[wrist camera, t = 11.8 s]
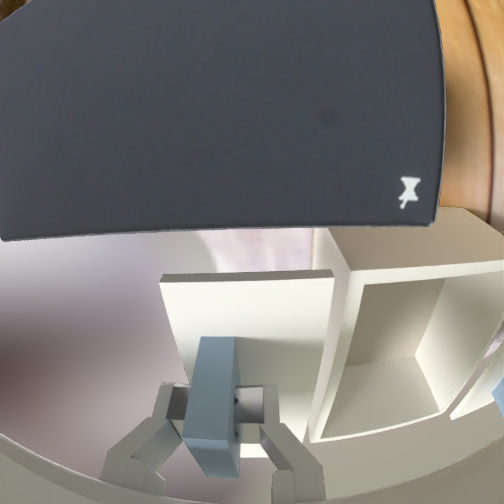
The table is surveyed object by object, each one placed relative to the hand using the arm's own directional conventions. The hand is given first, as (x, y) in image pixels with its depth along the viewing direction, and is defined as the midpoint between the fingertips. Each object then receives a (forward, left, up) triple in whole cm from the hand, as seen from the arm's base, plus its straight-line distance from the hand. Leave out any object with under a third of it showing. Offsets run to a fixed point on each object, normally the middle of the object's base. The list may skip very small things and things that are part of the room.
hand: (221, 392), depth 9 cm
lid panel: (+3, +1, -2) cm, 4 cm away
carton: (+3, +10, -9) cm, 14 cm away
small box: (-10, 0, -9) cm, 14 cm away
